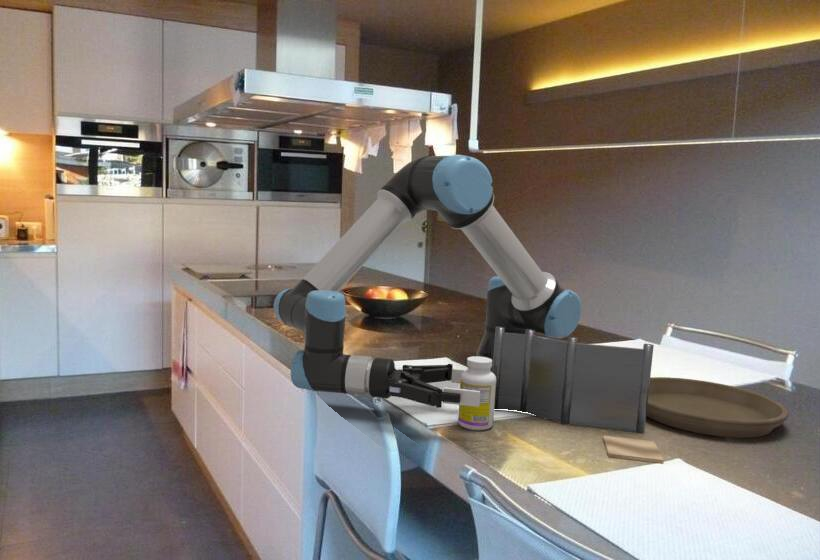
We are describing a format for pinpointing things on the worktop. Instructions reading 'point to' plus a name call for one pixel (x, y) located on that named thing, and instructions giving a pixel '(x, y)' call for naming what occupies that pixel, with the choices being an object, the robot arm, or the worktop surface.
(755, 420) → the plant saucer
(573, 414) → the grey ribbed panel
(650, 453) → the coaster
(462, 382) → the supplement bottle
